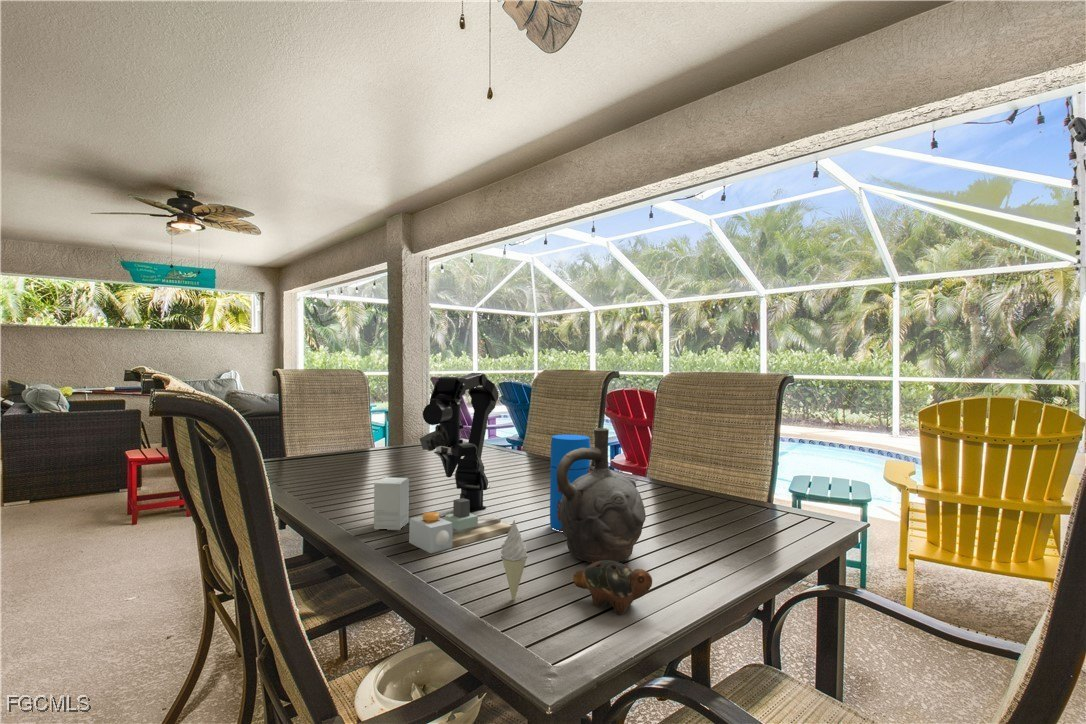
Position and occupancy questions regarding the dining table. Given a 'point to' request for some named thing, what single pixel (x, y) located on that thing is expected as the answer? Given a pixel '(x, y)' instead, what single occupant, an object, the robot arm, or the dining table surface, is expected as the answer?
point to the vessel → (599, 507)
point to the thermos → (576, 470)
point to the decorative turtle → (613, 583)
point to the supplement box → (391, 503)
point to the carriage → (462, 515)
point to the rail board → (480, 531)
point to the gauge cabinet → (430, 534)
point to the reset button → (430, 517)
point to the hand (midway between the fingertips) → (448, 477)
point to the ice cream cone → (514, 558)
